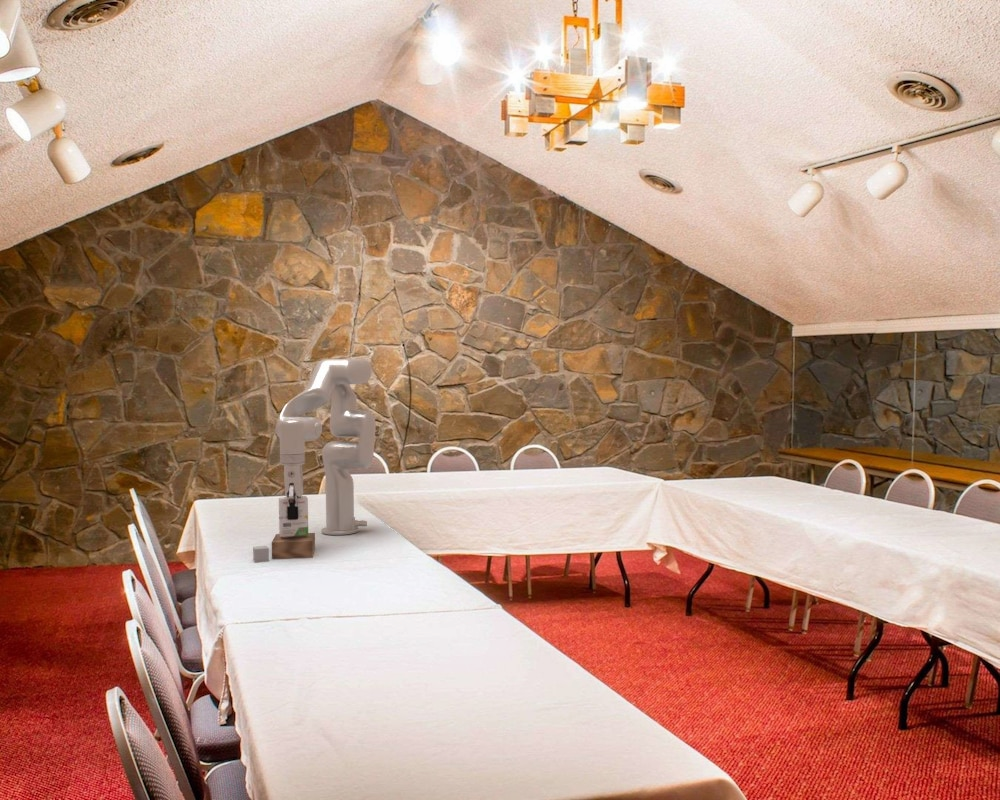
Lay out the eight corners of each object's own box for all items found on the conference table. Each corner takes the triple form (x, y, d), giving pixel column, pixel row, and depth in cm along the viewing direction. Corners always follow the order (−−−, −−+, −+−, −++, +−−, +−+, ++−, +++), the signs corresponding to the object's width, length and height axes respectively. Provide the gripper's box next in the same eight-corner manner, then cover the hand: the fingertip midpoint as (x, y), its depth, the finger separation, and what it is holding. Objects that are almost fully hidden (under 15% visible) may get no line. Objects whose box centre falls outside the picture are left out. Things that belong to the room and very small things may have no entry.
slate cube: (267, 558, 276) (266, 545, 276) (268, 561, 273) (268, 548, 272) (253, 560, 275) (253, 546, 274) (255, 562, 271) (254, 549, 271)
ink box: (306, 532, 286) (306, 495, 286) (308, 535, 282) (308, 497, 281) (279, 534, 284) (278, 496, 283) (280, 537, 279) (279, 499, 278)
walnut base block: (315, 548, 290) (314, 532, 290) (312, 557, 277) (312, 541, 277) (276, 549, 288) (276, 534, 288) (271, 558, 276) (271, 542, 275)
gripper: (302, 462, 273) (304, 522, 274) (306, 456, 290) (308, 512, 291) (277, 463, 272) (278, 523, 273) (282, 456, 289) (283, 513, 290)
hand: (293, 517), depth 282 cm, fingers closed on ink box, 5 cm apart
